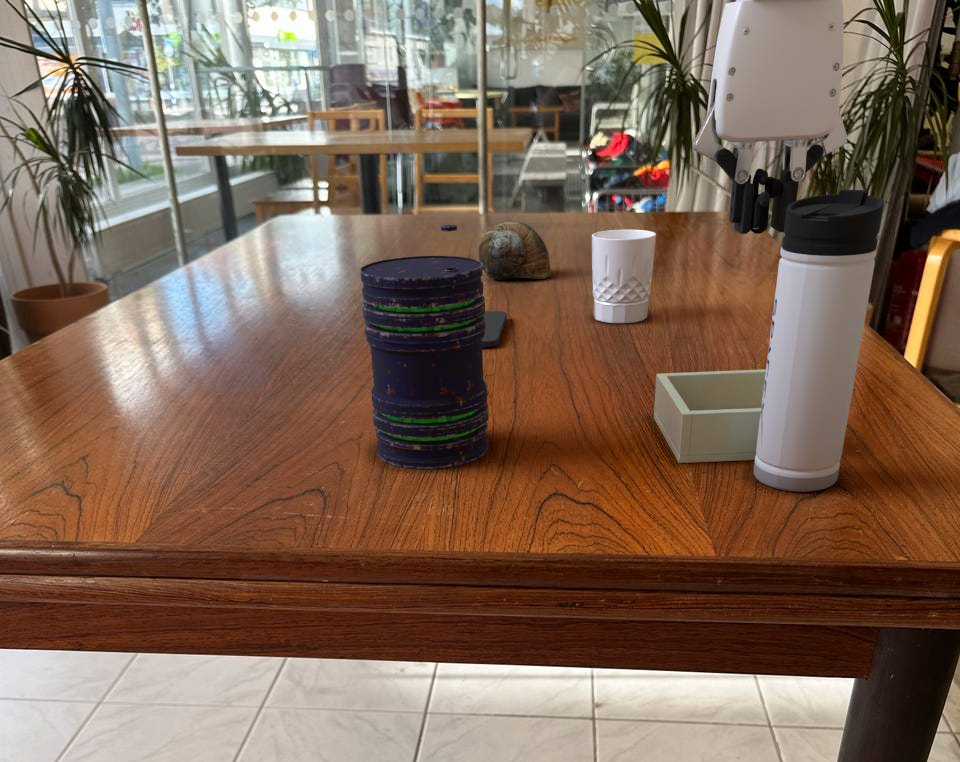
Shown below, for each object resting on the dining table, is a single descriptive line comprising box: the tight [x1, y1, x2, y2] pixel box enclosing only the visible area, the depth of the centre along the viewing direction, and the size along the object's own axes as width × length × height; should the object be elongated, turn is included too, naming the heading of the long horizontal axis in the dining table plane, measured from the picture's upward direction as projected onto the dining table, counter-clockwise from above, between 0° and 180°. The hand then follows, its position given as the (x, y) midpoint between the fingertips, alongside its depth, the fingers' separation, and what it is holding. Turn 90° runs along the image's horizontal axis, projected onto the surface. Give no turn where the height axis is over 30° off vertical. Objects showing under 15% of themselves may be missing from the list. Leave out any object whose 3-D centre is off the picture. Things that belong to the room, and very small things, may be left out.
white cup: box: [591, 229, 657, 324], centre depth 118 cm, size 8×8×10 cm
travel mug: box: [753, 188, 885, 493], centre depth 68 cm, size 6×7×20 cm
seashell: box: [478, 220, 553, 281], centre depth 144 cm, size 11×9×8 cm
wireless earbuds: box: [750, 167, 782, 235], centre depth 82 cm, size 7×2×5 cm, turn 178°
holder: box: [653, 368, 766, 464], centre depth 80 cm, size 12×12×4 cm
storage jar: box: [359, 224, 490, 470], centre depth 77 cm, size 10×10×18 cm
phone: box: [482, 310, 508, 348], centre depth 116 cm, size 7×1×15 cm
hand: (760, 228), depth 83 cm, fingers closed on wireless earbuds, 2 cm apart
